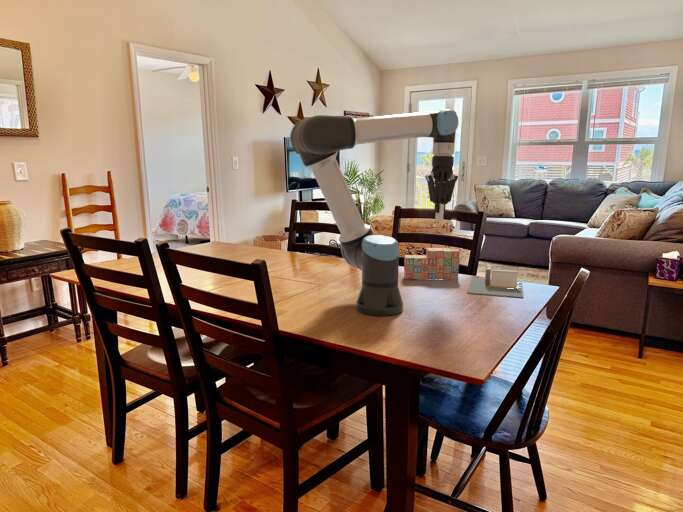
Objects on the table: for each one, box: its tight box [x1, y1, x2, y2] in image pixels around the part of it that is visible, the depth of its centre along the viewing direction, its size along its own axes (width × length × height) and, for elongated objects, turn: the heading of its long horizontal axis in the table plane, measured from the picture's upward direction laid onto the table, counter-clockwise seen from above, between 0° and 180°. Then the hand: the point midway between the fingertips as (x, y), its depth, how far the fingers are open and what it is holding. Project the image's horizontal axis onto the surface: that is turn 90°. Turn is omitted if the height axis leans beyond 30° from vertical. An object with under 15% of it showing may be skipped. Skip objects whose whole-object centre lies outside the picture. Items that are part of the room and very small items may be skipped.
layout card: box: [466, 277, 524, 299], centre depth 180 cm, size 23×19×1 cm
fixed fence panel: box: [486, 263, 492, 270], centre depth 187 cm, size 9×1×7 cm, turn 161°
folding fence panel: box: [484, 268, 519, 287], centre depth 180 cm, size 11×2×6 cm, turn 74°
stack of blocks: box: [403, 247, 460, 281], centre depth 194 cm, size 21×6×12 cm, turn 88°
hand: (439, 221), depth 173 cm, fingers closed
